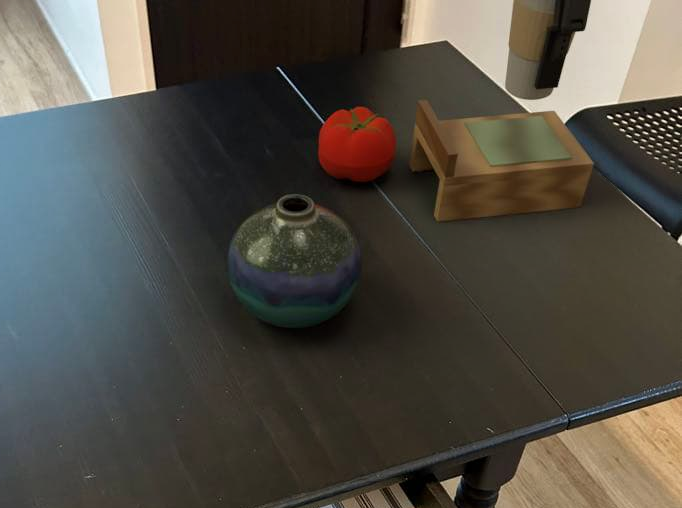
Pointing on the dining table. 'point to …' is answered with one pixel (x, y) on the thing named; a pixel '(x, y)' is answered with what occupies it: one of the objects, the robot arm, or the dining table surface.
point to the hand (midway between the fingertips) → (533, 70)
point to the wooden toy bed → (500, 163)
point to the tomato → (356, 145)
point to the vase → (294, 263)
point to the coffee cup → (528, 47)
